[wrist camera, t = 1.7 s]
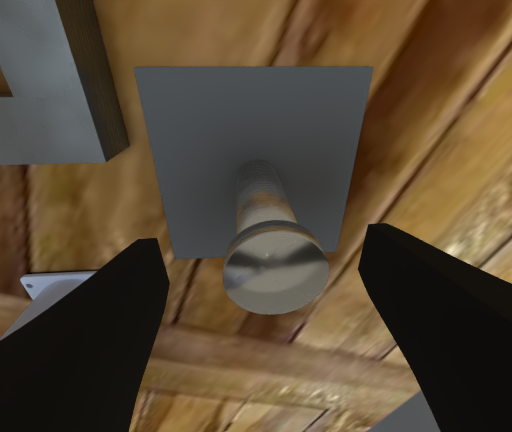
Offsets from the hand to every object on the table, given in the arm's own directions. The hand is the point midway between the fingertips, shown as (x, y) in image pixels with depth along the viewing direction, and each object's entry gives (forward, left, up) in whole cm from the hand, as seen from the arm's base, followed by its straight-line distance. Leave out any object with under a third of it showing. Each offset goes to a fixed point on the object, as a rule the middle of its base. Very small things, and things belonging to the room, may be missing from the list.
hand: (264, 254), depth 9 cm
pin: (-1, 0, -10) cm, 10 cm away
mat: (-1, 0, -10) cm, 10 cm away
